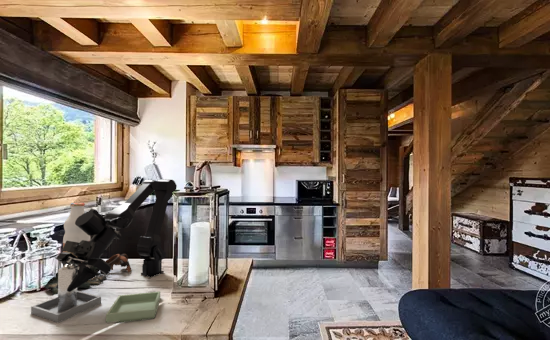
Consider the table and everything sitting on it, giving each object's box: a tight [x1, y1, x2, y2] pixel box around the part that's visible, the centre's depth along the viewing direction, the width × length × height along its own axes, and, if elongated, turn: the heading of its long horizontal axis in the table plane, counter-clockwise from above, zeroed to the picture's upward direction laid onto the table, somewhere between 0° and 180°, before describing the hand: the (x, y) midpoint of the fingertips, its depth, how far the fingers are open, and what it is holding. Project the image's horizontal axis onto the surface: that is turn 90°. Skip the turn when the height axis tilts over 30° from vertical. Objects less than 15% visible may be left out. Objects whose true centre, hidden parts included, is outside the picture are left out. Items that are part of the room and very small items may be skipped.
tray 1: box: [30, 290, 102, 324], centre depth 83 cm, size 12×12×3 cm
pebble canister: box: [57, 264, 78, 312], centre depth 83 cm, size 5×5×13 cm
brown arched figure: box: [105, 253, 132, 274], centre depth 116 cm, size 12×10×8 cm
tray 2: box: [105, 291, 161, 324], centre depth 83 cm, size 12×12×3 cm
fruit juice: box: [62, 202, 91, 270], centre depth 117 cm, size 9×9×28 cm
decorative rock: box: [43, 272, 108, 296], centre depth 101 cm, size 19×6×15 cm
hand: (62, 289), depth 82 cm, fingers closed on pebble canister, 5 cm apart
